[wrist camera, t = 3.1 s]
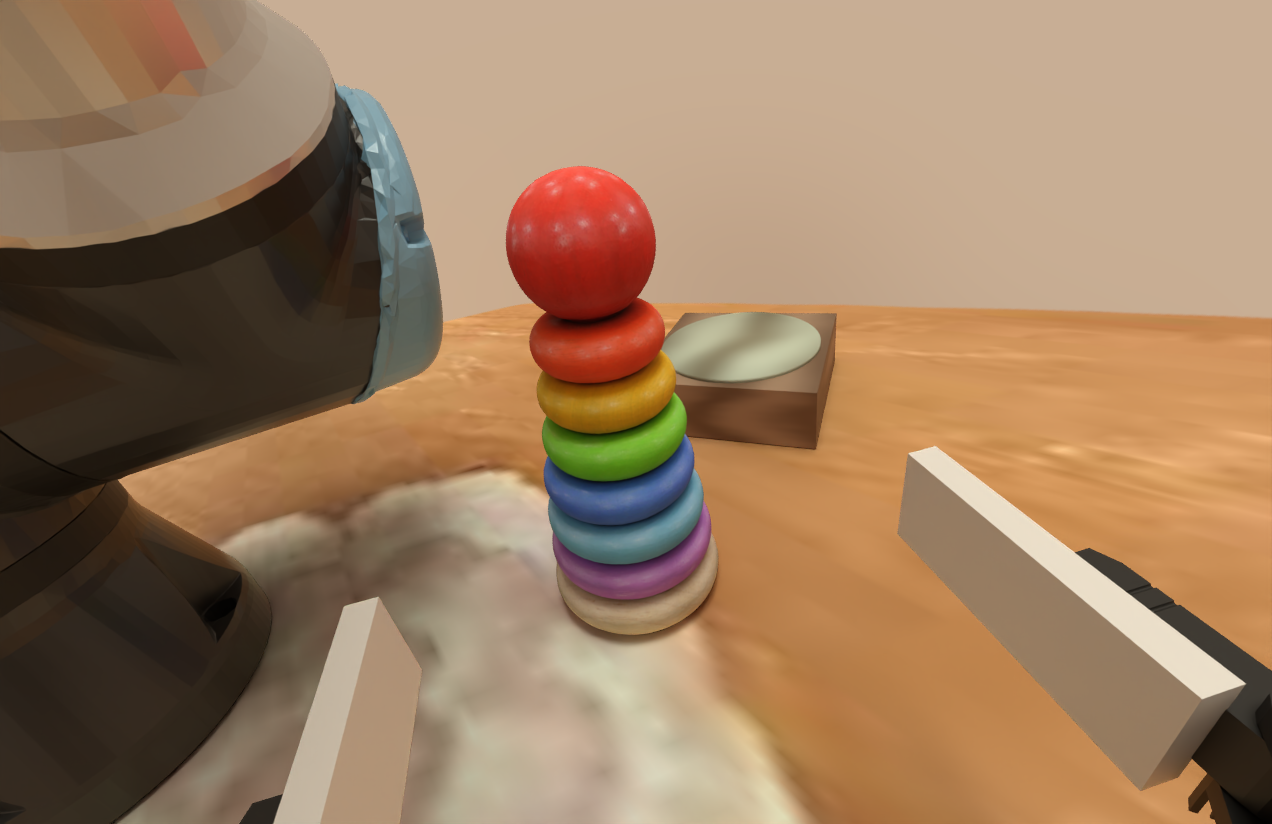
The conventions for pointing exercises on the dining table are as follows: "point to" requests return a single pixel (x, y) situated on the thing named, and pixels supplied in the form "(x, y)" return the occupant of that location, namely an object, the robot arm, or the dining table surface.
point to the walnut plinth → (753, 375)
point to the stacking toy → (609, 407)
